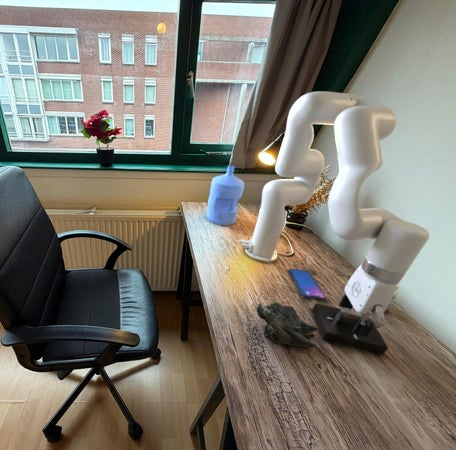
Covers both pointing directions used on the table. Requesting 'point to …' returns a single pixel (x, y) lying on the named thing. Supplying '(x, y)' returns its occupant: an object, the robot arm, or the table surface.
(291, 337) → the mineral specimen
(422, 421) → the table surface
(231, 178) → the water jug
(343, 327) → the plate
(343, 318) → the tap handle
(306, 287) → the smartphone
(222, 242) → the table surface
